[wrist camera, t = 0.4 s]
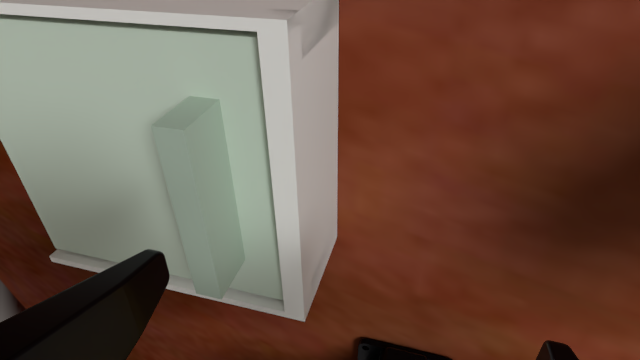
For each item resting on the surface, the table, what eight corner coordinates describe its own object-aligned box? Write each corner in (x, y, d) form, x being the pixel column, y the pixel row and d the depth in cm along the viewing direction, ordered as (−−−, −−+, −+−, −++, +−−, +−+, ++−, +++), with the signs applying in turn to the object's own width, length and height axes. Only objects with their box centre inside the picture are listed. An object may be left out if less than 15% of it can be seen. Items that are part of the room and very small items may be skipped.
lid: (288, 287, 21) (264, 342, 19) (66, 238, 25) (19, 279, 22) (266, 30, 14) (222, 62, 12) (-44, 9, 17) (-131, 31, 15)
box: (337, 237, 25) (304, 321, 21) (122, 197, 29) (51, 261, 24) (338, -20, 17) (286, 20, 13) (42, -31, 21) (-87, -3, 16)
